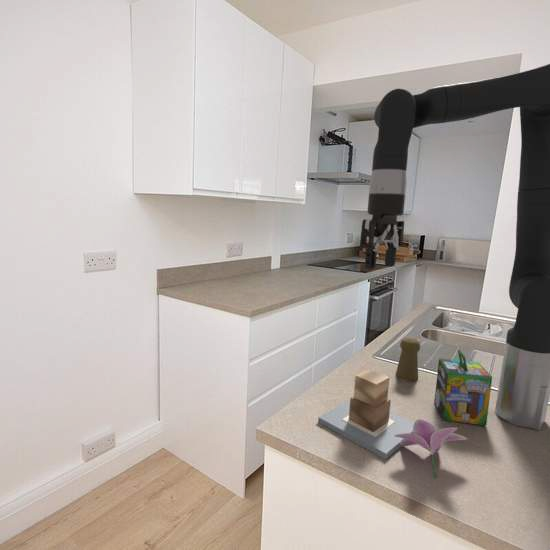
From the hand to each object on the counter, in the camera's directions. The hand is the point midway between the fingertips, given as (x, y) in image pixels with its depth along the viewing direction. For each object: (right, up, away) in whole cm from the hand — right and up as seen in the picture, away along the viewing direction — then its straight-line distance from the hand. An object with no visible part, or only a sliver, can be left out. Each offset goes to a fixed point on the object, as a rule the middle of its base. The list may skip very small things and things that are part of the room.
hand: (380, 267), depth 82 cm
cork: (+14, -31, +22) cm, 40 cm away
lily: (+5, -37, -14) cm, 39 cm away
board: (-4, -34, -3) cm, 34 cm away
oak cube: (-3, -28, -4) cm, 28 cm away
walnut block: (-4, -33, -4) cm, 33 cm away
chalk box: (+19, -34, +4) cm, 39 cm away
